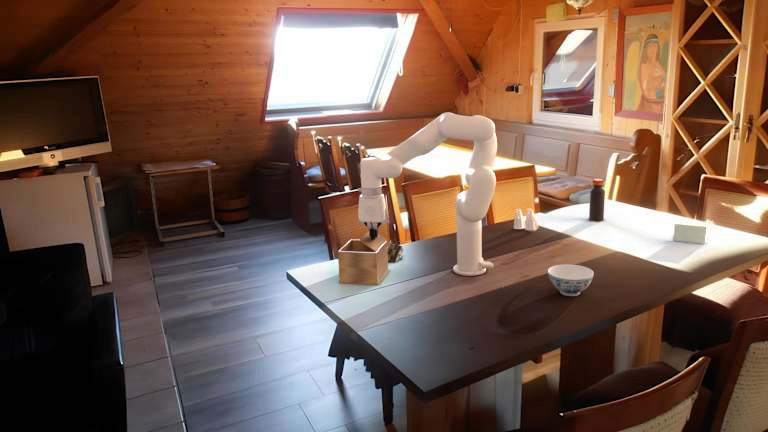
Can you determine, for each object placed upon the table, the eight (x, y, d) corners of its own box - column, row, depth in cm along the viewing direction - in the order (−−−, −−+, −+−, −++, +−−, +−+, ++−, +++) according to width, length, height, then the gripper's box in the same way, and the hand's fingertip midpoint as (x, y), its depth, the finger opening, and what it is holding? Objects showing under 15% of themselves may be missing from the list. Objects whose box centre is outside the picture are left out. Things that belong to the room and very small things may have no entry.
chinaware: (586, 304, 197) (587, 282, 195) (541, 296, 204) (542, 275, 203) (597, 288, 209) (598, 267, 207) (554, 282, 217) (555, 262, 215)
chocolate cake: (398, 265, 244) (407, 239, 249) (382, 260, 244) (391, 234, 250) (397, 273, 252) (406, 249, 257) (381, 268, 253) (390, 244, 258)
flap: (386, 239, 233) (387, 239, 233) (375, 251, 219) (376, 251, 219) (371, 229, 234) (371, 228, 234) (359, 240, 219) (359, 240, 219)
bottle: (590, 221, 292) (591, 181, 287) (587, 217, 299) (589, 178, 294) (604, 221, 291) (606, 181, 286) (602, 217, 297) (604, 178, 292)
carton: (388, 270, 236) (387, 240, 233) (377, 285, 222) (376, 253, 219) (352, 269, 240) (350, 239, 237) (339, 282, 226) (337, 251, 223)
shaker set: (539, 231, 279) (539, 208, 276) (533, 233, 276) (534, 210, 274) (518, 227, 288) (518, 204, 285) (512, 228, 285) (513, 206, 283)
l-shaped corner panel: (707, 236, 261) (709, 219, 259) (704, 244, 251) (706, 226, 249) (677, 233, 267) (678, 217, 265) (673, 240, 257) (674, 223, 255)
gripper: (349, 193, 220) (352, 240, 224) (388, 193, 216) (390, 242, 220) (355, 188, 227) (358, 235, 231) (393, 189, 223) (395, 236, 227)
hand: (373, 238), depth 226 cm, fingers closed
